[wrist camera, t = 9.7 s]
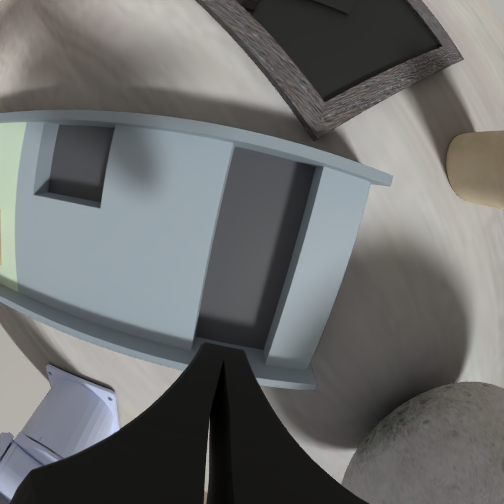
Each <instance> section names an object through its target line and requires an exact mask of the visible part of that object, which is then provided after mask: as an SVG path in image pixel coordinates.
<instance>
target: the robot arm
mask: <svg viewBox="0 0 504 504" xmlns="http://www.w3.org/2000/svg"><path fill="white" fill-rule="evenodd" d="M46 371H47V375H48V378H49V382H50V386H51V390H50V391H49V392H48V393H47V395H46V397H45V398H44V399H43V400H42V402H41V403H40V405H39V406H38V407H37V409H36V410H35V412H34V413H33V415H32V416H31V417H30V419H29V421H28V422H27V424H26V425H25V426H24V428H23V429H22V431H21V432H20V433H19V434H18V435H17V437H16V438H15V440H13V437H14V436H13V435H12V434H11V433H10V432H9V433H1V434H0V504H204V503H203V502H204V484H205V467H206V453H207V441H208V430H209V419H210V434H209V485H208V494H207V504H369V503H368V502H366V501H364V500H362V499H361V498H359V497H358V496H356V495H355V494H353V493H352V492H350V491H349V490H348V489H346V488H345V487H344V486H342V485H341V484H339V483H338V482H337V481H336V480H335V479H333V478H332V477H331V476H330V475H329V474H328V473H327V472H325V471H324V470H323V469H322V468H321V467H320V466H319V465H318V464H317V463H316V462H314V461H313V460H312V459H311V458H310V456H309V455H308V454H307V453H306V452H305V451H304V450H303V449H302V448H301V447H300V446H299V444H298V443H297V442H296V441H295V439H294V438H293V437H292V436H291V435H290V433H289V432H288V431H287V429H286V428H285V427H284V425H283V424H282V422H281V421H280V419H279V418H278V416H277V415H276V413H275V412H274V410H273V409H272V407H271V405H270V404H269V402H268V400H267V398H266V397H265V395H264V393H263V391H262V389H261V387H260V385H259V383H258V381H257V379H256V377H255V375H254V373H253V371H252V368H251V366H250V363H249V361H248V358H247V355H246V353H245V351H244V350H242V349H237V348H231V347H226V346H221V345H216V344H212V343H207V342H204V343H202V344H201V345H200V348H199V350H198V352H197V353H196V355H195V357H194V358H193V360H192V361H191V362H190V364H189V365H188V367H187V368H186V369H185V370H184V371H183V373H182V374H181V375H180V376H179V378H178V379H177V380H176V381H175V382H174V383H173V384H172V385H171V386H170V387H169V388H168V389H167V391H166V392H165V393H164V394H163V395H162V396H161V397H160V398H159V399H158V400H156V401H155V402H154V403H153V404H152V405H151V406H150V407H149V408H147V409H146V410H145V411H144V412H143V413H141V414H140V415H139V416H138V417H136V418H135V419H134V420H132V421H131V422H129V423H128V424H127V425H125V426H124V427H122V428H121V429H120V426H119V419H118V412H117V404H116V395H115V393H114V392H113V391H112V390H110V389H107V388H104V387H102V386H99V385H96V384H94V383H91V382H89V381H86V380H84V379H81V378H79V377H77V376H74V375H72V374H70V373H67V372H65V371H63V370H61V369H59V368H56V367H54V366H52V365H50V364H47V366H46ZM1 496H2V497H1ZM5 499H6V500H5ZM9 502H10V503H9Z"/></svg>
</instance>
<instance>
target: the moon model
mask: <svg viewBox="0 0 504 504" xmlns="http://www.w3.org/2000/svg"><path fill="white" fill-rule="evenodd" d="M341 485H342V486H344V487H345V488H346V489H348V490H349V491H350V492H352V493H353V494H355V495H356V496H358V497H359V498H361V499H362V500H364V501H366V502H368V503H369V504H504V389H503V388H501V387H498V386H495V385H492V384H487V383H482V382H459V383H452V384H447V385H443V386H440V387H437V388H433V389H431V390H428V391H426V392H423V393H421V394H419V395H417V396H415V397H414V398H412V399H410V400H408V401H406V402H405V403H403V404H402V405H400V406H399V407H397V408H396V409H395V410H393V411H392V412H391V413H390V414H388V415H387V416H386V417H385V418H384V419H382V420H381V421H380V422H379V423H378V424H377V425H376V426H375V427H374V428H373V429H372V430H371V432H370V433H369V434H368V435H367V437H366V438H365V439H364V440H363V441H362V443H361V444H360V446H359V447H358V449H357V450H356V452H355V454H354V455H353V457H352V459H351V461H350V463H349V465H348V467H347V469H346V472H345V475H344V478H343V481H342V484H341Z"/></svg>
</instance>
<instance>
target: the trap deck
mask: <svg viewBox="0 0 504 504" xmlns="http://www.w3.org/2000/svg"><path fill="white" fill-rule="evenodd" d="M392 178H393V176H392V175H390V174H387V173H385V172H382V171H380V170H377V169H374V168H372V167H369V166H366V165H364V164H361V163H358V162H355V161H352V160H350V159H347V158H344V157H341V156H338V155H335V154H332V153H329V152H325V151H322V150H319V149H316V148H313V147H309V146H306V145H302V144H299V143H295V142H292V141H288V140H284V139H280V138H277V137H273V136H269V135H265V134H261V133H256V132H252V131H248V130H243V129H238V128H234V127H229V126H224V125H218V124H213V123H208V122H202V121H196V120H190V119H183V118H176V117H169V116H161V115H152V114H143V113H132V112H120V111H103V110H33V111H18V112H6V113H0V210H1V224H0V227H1V256H2V265H1V266H0V302H1V303H3V304H5V305H7V306H9V307H11V308H13V309H14V310H16V311H18V312H20V313H22V314H24V315H26V316H28V317H31V318H33V319H35V320H37V321H39V322H41V323H43V324H46V325H48V326H50V327H52V328H55V329H57V330H59V331H62V332H64V333H67V334H69V335H72V336H74V337H77V338H79V339H82V340H84V341H87V342H90V343H92V344H95V345H98V346H101V347H104V348H106V349H109V350H112V351H115V352H118V353H121V354H125V355H128V356H131V357H134V358H138V359H141V360H144V361H148V362H151V363H155V364H159V365H162V366H166V367H170V368H174V369H178V370H182V371H184V370H185V369H186V368H187V367H188V365H189V364H190V362H191V361H192V360H193V358H194V357H195V355H196V353H197V352H198V350H199V348H200V345H201V344H202V343H204V342H207V343H212V344H216V345H221V346H226V347H231V348H237V349H242V350H244V351H245V353H246V355H247V358H248V361H249V363H250V366H251V368H252V371H253V373H254V375H255V377H256V379H257V381H258V383H259V385H262V386H270V387H278V388H287V389H296V390H308V391H315V389H316V387H317V385H318V384H317V381H316V378H315V375H314V372H313V369H312V366H311V363H310V362H311V359H312V357H313V355H314V352H315V350H316V348H317V345H318V343H319V340H320V338H321V335H322V333H323V330H324V328H325V325H326V323H327V320H328V318H329V315H330V312H331V310H332V307H333V304H334V302H335V299H336V296H337V294H338V291H339V288H340V285H341V282H342V279H343V276H344V274H345V271H346V268H347V265H348V261H349V258H350V255H351V252H352V249H353V246H354V243H355V239H356V236H357V233H358V229H359V226H360V222H361V219H362V215H363V212H364V208H365V204H366V201H367V197H368V193H369V189H370V185H371V184H376V185H384V186H391V182H392Z"/></svg>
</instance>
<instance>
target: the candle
mask: <svg viewBox="0 0 504 504" xmlns="http://www.w3.org/2000/svg"><path fill="white" fill-rule="evenodd" d="M446 169H447V175H448V179H449V182H450V184H451V187H452V188H453V190H454V192H455V193H456V194H457V195H458V196H459V197H460V198H462V199H463V200H465V201H468V202H472V203H476V204H481V205H485V206H489V207H493V208H497V209H501V210H504V131H487V132H473V133H464V134H460V135H458V136H456V137H455V138H454V139H453V140H452V141H451V143H450V145H449V147H448V151H447V156H446Z"/></svg>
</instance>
